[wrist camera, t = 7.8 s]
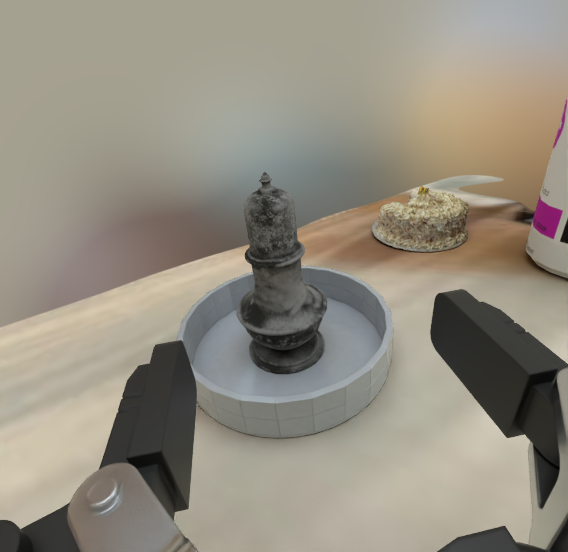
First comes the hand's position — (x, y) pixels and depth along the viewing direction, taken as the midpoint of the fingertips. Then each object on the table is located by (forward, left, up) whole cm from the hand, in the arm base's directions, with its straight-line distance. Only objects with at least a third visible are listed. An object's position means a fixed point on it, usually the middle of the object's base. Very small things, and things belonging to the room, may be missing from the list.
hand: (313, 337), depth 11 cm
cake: (+15, +26, -9) cm, 31 cm away
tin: (-1, +10, -9) cm, 14 cm away
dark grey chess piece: (-1, +10, -9) cm, 14 cm away
